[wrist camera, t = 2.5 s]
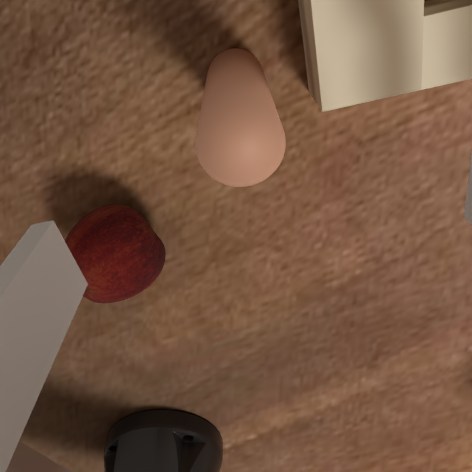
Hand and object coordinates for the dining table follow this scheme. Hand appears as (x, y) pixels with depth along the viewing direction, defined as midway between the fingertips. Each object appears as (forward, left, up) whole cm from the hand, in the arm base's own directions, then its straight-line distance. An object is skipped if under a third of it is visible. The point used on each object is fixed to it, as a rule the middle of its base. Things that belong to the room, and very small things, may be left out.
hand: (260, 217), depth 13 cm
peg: (0, 0, -19) cm, 19 cm away
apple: (-12, -10, -19) cm, 25 cm away
